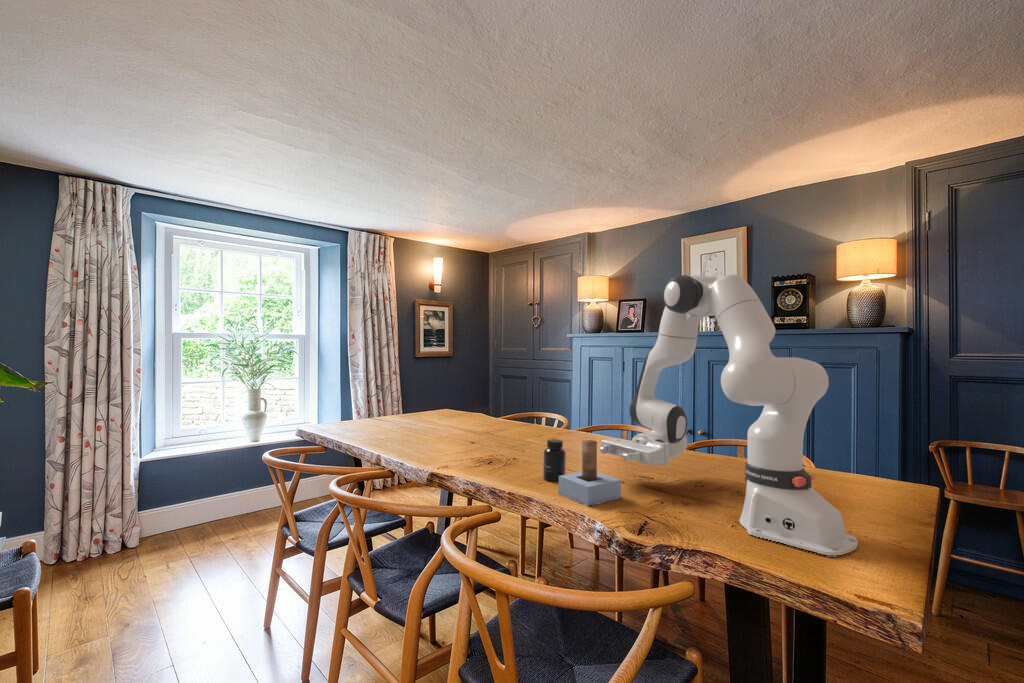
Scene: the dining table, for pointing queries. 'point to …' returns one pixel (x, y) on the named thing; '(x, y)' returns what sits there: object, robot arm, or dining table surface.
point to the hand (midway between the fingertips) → (612, 453)
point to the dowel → (589, 460)
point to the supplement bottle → (554, 460)
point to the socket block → (589, 488)
